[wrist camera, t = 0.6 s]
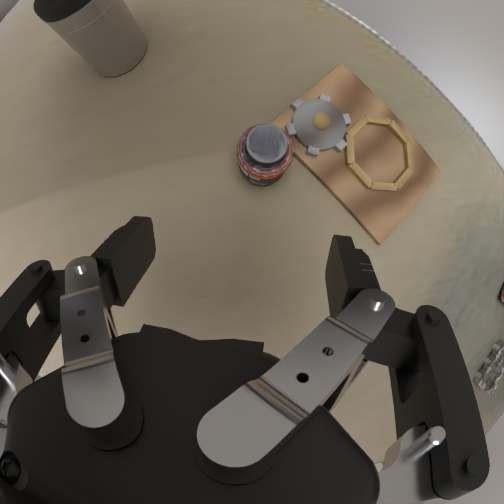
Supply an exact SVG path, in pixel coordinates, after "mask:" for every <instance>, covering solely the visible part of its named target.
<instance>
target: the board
mask: <svg viewBox="0 0 504 504" xmlns="http://www.w3.org/2000/svg"><path fill="white" fill-rule="evenodd" d="M271 125H275V126H277V127H279V128H281V129H282V130H283V131H285V132H286V133H287V135H288V136H289V138H290V139H291V142H292V145H293V155H294V156H295V157H296V158H297V159H298V160H299V161H300V162H301V163H302V164H303V165H304V166H305V167H306V168H307V169H308V170H309V171H310V172H311V173H312V174H313V175H314V176H315V177H316V178H317V179H318V180H319V181H320V182H321V183H322V184H323V185H324V186H325V187H326V188H327V189H328V190H329V191H330V192H331V193H332V194H333V195H334V196H335V198H336V199H337V200H338V201H339V202H340V203H341V204H342V205H343V206H344V207H345V208H346V209H347V210H348V212H349V213H350V214H351V215H352V216H353V217H354V218H355V219H356V220H357V222H358V223H359V224H360V225H361V226H362V227H363V228H364V230H365V231H366V232H367V233H368V234H369V235H370V236H371V238H372V239H373V240H374V241H375V242H376V244H378V245H381V244H382V243H383V242H384V241H385V240H386V239H387V237H388V236H389V235H390V234H391V233H392V232H393V230H394V229H395V228H396V227H397V226H398V225H399V223H400V222H401V221H402V220H403V219H404V217H405V216H406V215H407V214H408V212H409V211H410V210H411V209H412V208H413V206H414V205H415V204H416V203H417V201H418V200H419V199H420V198H421V196H422V195H423V194H424V192H425V191H426V190H427V189H428V187H429V186H430V185H431V183H432V182H433V181H434V179H435V178H436V177H437V175H438V174H439V173H440V170H439V168H438V167H437V166H436V164H435V163H434V162H433V160H432V159H431V158H430V156H429V155H428V154H427V153H426V151H425V150H424V149H423V147H422V146H421V145H420V144H419V142H418V141H417V140H416V139H415V138H414V136H413V135H412V134H411V133H410V132H409V130H408V129H407V128H406V127H405V126H404V125H403V124H402V122H401V121H400V120H399V119H398V118H397V117H396V116H395V115H394V114H393V112H392V111H391V110H390V109H389V108H388V107H387V106H386V105H385V104H384V103H383V102H382V101H381V100H380V99H379V98H378V97H377V96H376V95H375V94H374V93H373V92H372V91H371V90H370V89H369V88H368V87H367V86H366V85H365V84H364V83H363V82H362V81H361V80H360V79H359V78H358V77H357V76H356V75H354V74H353V73H352V72H351V71H350V70H349V69H348V68H347V67H346V66H344V65H343V64H342V63H341V64H340V65H339V66H338V67H336V68H335V69H334V70H333V71H331V72H330V73H329V74H328V75H326V76H325V77H324V78H323V79H322V80H320V81H319V82H318V83H317V84H316V85H314V86H313V87H312V88H311V89H310V90H308V91H307V92H306V93H305V94H304V95H302V96H301V97H300V98H299V97H298V98H297V99H296V100H295V101H294V102H293V103H291V106H290V107H289V108H288V109H286V110H285V111H284V112H283V113H282V114H281V115H280V116H279V117H277V118H276V119H275V120H274V121H273V122H272V123H271Z"/></svg>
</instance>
